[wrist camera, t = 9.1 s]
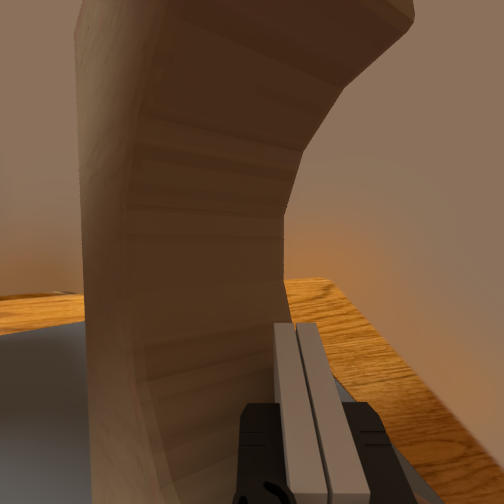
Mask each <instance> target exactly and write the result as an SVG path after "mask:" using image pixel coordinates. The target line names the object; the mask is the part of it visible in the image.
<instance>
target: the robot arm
mask: <svg viewBox="0 0 504 504" xmlns="http://www.w3.org/2000/svg"><path fill="white" fill-rule="evenodd" d="M273 374H274V397H275V403H247V405H246V407H245V408H244V410H243V412H242V414H241V416H240V427H239V447H238V464H237V483H236V493H235V494H234V497H233V501H232V504H418V502H417V500H416V498H415V496H414V494H413V491H412V489H411V487H410V485H409V482H408V480H407V478H406V476H405V473H404V471H403V469H402V467H401V464H400V462H399V460H398V457H397V455H396V453H395V451H394V448H392V444H391V442H390V439H389V437H388V435H387V434H386V430H385V428H384V426H383V423H382V421H381V419H380V417H379V415H378V414H377V413H376V412H375V411H374V410H373V408H372V407H371V406H370V405H369V404H368V403H367V402H341V400H340V397H339V394H338V391H337V388H336V385H335V382H334V379H333V375H332V372H331V369H330V366H329V363H328V360H327V357H326V354H325V351H324V347H323V344H322V341H321V338H320V335H319V332H318V329H317V326H316V323H296V333H295V328H294V323H274V351H273Z"/></svg>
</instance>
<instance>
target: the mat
mask: <svg viewBox="0 0 504 504" xmlns="http://www.w3.org/2000/svg"><path fill="white" fill-rule="evenodd" d="M333 379H334V382H335V385H336V388H337V391H338V394H339V397H340V400H341V402H355V400H354V399H353V398H352V397H351V396H350V395H349V394H348V392H347V391H346V390H345V389H344V388H343V387H342V386H341V384H340V383H339V382H338V381H337V380H336V379H335V378H334V376H333ZM391 444H392V443H391ZM392 448H394V451H395V453H396V455H397V457H398V460H399V462H400V464H401V467H402V469H403V471H404V473H405V476H406V478H407V480H408V482H409V485H410V487H411V489H412V491H413V492H414V493H416V494H418V495H419V496H421V497H422V498H424V499H426V500H427V501H429V502H430V503H432V504H445V503H444V502H443V501H442V500H441V499H440V497H439V496H438V495H437V494H436V493H435V492H434V491H433V489H432V488H431V487H430V486H429V485H428V484H427V483H426V481H425V480H424V479H423V478H422V477H421V476H420V475H419V473H418V472H417V471H416V470H415V469H414V468H413V467H412V465H411V464H410V463H409V462H408V461H407V460H406V459H405V457H404V456H403V455H402V454H401V453H400V452H399V451H398V450H397V448H396V447H395V446H394V445H393V444H392ZM0 504H92V491H91V465H90V439H89V413H88V386H87V359H86V333H85V321H83V322H77V323H71V324H65V325H59V326H54V327H48V328H42V329H36V330H30V331H24V332H18V333H12V334H7V335H1V336H0Z"/></svg>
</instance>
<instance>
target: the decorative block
mask: <svg viewBox="0 0 504 504" xmlns="http://www.w3.org/2000/svg"><path fill="white" fill-rule="evenodd" d="M414 17H415V12H414V5H413V0H82V4H81V8H80V12H79V16H78V20H77V24H76V27H75V32H74V46H75V72H76V99H77V126H78V153H79V177H80V178H79V179H80V204H81V227H82V228H81V230H82V252H83V253H82V255H83V280H84V306H85V333H86V359H87V386H88V413H89V439H90V465H91V491H92V504H232V501H233V497H234V494H235V493H236V483H237V464H238V447H239V427H240V416H241V414H242V412H243V410H244V408H245V407H246V405H247V403H275V397H274V374H273V351H274V323H292V320H291V315H290V310H289V305H288V300H287V295H286V290H285V286H284V281H283V273H284V269H283V267H284V264H283V261H284V260H283V259H284V214H285V211H286V208H287V204H288V201H289V198H290V194H291V191H292V187H293V184H294V181H295V177H296V174H297V171H298V167H299V164H300V161H301V157H302V154H303V151H304V150H305V148H306V147H307V145H308V144H309V142H310V140H311V139H312V137H313V136H314V134H315V133H316V131H317V130H318V128H319V126H320V125H321V123H322V122H323V120H324V119H325V117H326V115H327V114H328V112H329V111H330V109H331V108H332V106H333V105H334V103H335V102H336V100H337V98H338V97H339V95H340V94H341V92H342V91H343V89H344V88H345V87H346V86H347V85H348V84H349V83H350V82H352V81H353V80H354V79H355V78H356V77H357V76H358V75H359V74H360V73H361V72H363V71H364V70H365V69H366V68H367V67H368V66H369V65H370V64H372V63H373V62H374V61H375V60H376V59H377V58H378V57H379V56H381V55H382V54H383V53H384V52H385V51H386V50H387V49H388V48H389V47H391V46H392V45H393V44H394V43H395V42H396V41H397V40H399V39H400V38H401V37H402V36H403V35H404V34H405V33H406V32H407V31H408V30H409V28H410V27H411V25H412V24H413V23H414ZM413 494H414V496H415V498H416V500H417V502H418V504H432V503H430V502H429V501H427V500H426V499H424V498H422V497H421V496H419V495H418V494H416V493H414V492H413Z"/></svg>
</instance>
